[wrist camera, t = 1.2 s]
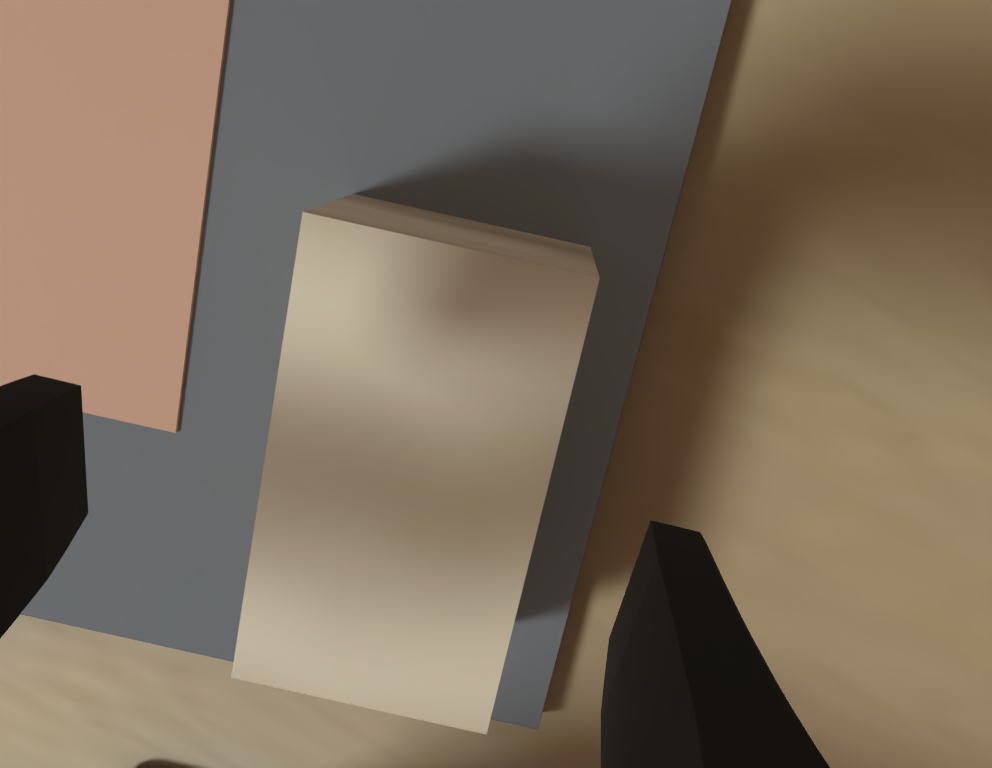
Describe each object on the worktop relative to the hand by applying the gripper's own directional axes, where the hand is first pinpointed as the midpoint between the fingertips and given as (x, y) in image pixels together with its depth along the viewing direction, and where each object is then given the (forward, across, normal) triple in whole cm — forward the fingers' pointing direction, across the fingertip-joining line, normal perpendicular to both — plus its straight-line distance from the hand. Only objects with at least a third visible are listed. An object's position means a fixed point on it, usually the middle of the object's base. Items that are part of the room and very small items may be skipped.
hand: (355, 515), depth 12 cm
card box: (+8, 0, +4) cm, 9 cm away
